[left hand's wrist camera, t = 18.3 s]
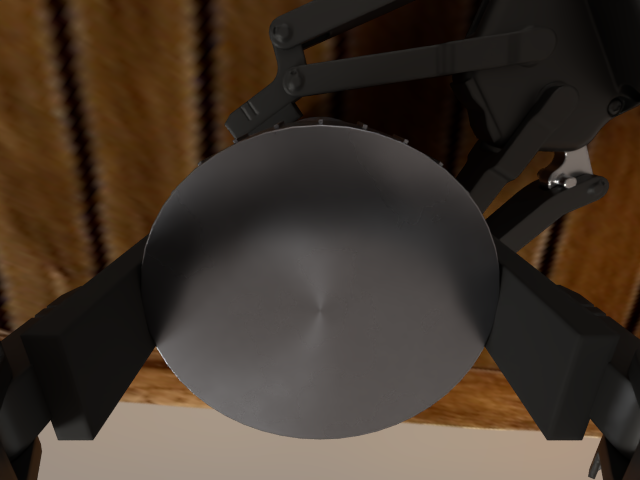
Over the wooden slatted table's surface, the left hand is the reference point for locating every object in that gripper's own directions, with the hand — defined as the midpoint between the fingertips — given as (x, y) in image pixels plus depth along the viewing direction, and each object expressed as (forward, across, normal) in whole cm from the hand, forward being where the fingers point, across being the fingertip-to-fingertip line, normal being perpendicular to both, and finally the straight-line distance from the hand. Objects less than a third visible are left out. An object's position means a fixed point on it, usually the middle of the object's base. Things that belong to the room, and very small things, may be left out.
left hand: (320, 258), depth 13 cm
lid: (-3, 0, 0) cm, 3 cm away
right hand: (+6, -4, -3) cm, 8 cm away
